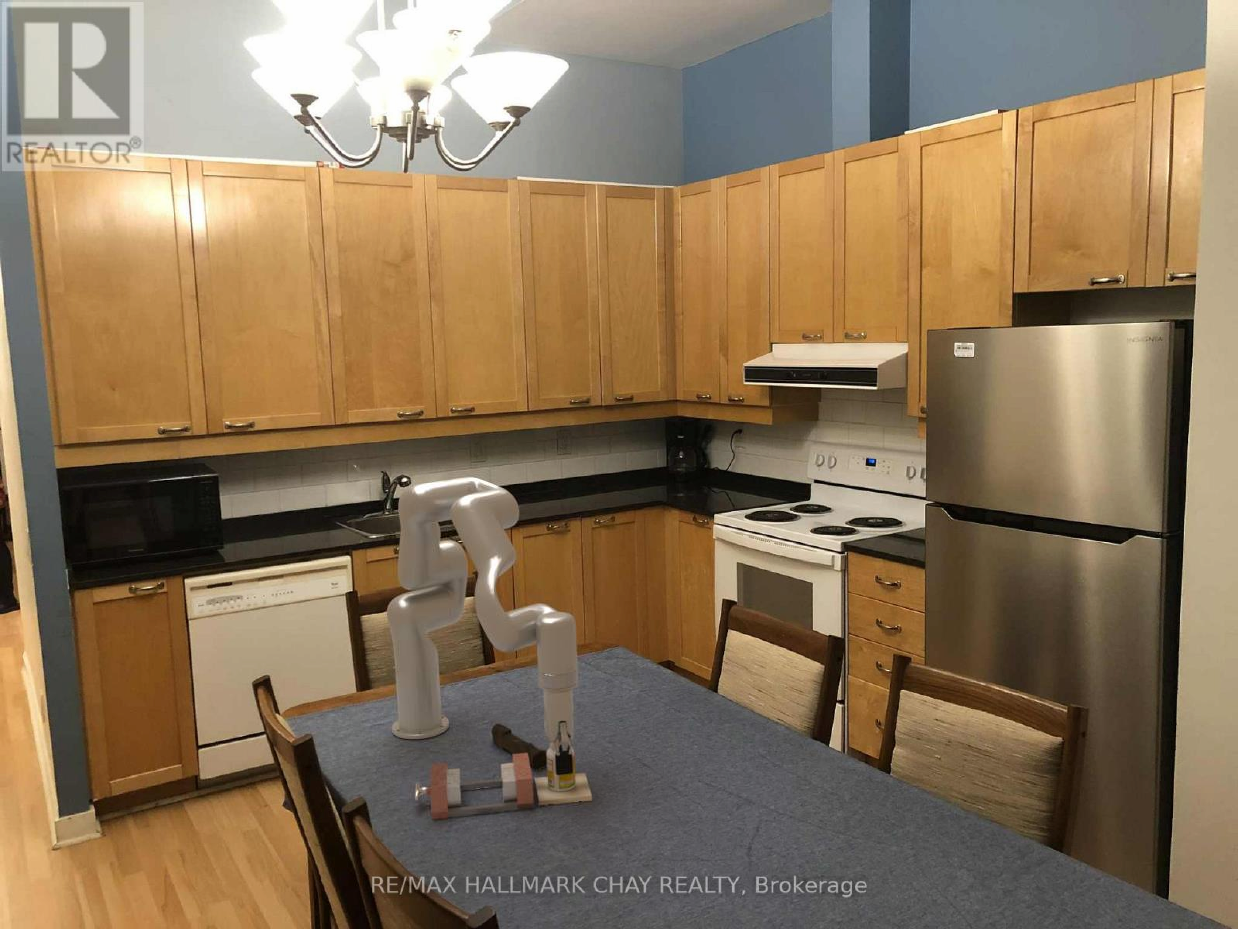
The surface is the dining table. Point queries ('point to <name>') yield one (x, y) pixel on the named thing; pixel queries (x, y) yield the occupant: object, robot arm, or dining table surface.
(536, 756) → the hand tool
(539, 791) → the birch board
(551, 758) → the supplement bottle
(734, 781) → the dining table surface
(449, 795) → the vise
